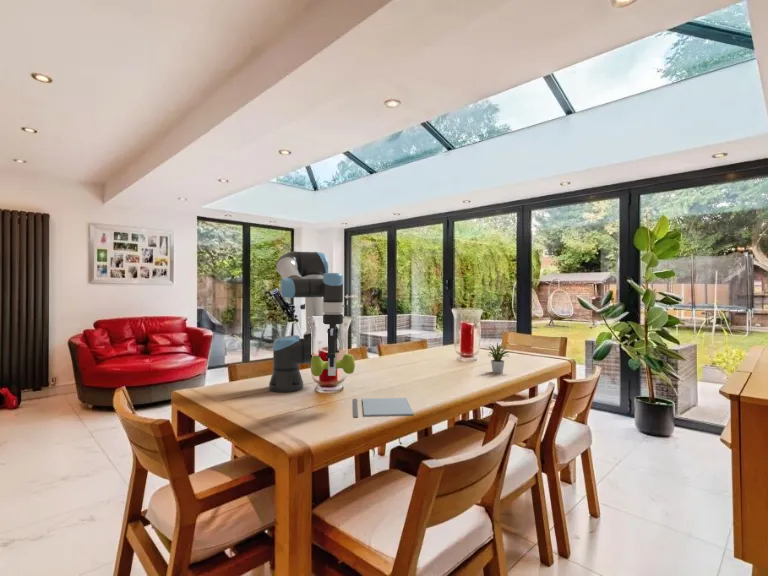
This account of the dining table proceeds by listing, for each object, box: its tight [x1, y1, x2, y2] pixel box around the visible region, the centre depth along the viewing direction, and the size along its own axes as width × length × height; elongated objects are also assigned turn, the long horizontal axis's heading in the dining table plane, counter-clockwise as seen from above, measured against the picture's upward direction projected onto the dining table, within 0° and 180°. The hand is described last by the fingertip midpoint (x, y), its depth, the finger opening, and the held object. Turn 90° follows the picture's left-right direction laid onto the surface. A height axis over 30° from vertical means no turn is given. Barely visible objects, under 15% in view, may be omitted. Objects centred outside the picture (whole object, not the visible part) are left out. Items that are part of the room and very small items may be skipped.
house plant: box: [486, 342, 512, 374], centre depth 214 cm, size 14×14×16 cm
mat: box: [361, 397, 415, 417], centre depth 153 cm, size 18×20×1 cm
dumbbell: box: [310, 353, 356, 377], centre depth 150 cm, size 16×8×7 cm, turn 109°
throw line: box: [352, 398, 359, 419], centre depth 152 cm, size 2×22×1 cm, turn 5°
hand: (332, 372), depth 150 cm, fingers closed on dumbbell, 9 cm apart
